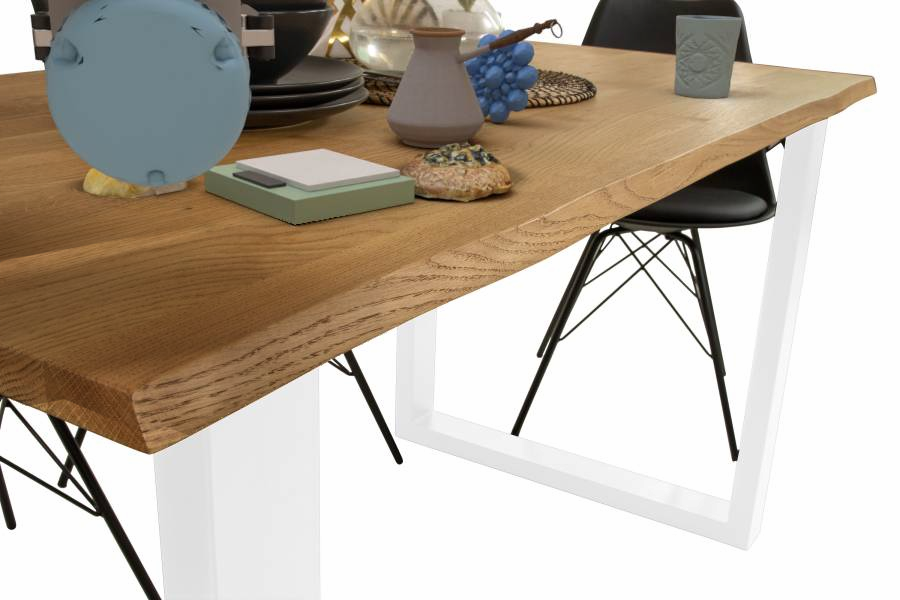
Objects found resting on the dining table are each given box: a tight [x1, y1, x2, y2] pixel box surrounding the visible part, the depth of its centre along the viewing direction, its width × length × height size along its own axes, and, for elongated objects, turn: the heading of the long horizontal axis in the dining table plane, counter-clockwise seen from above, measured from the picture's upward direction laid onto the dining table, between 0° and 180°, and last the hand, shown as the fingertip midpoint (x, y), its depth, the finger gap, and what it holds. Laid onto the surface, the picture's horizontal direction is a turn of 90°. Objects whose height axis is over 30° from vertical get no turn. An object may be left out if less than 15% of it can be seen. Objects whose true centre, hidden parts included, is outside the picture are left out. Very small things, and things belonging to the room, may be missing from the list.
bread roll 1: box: [82, 167, 188, 199], centre depth 90 cm, size 8×9×4 cm
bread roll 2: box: [400, 143, 515, 203], centre depth 96 cm, size 11×11×5 cm
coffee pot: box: [386, 18, 564, 149], centre depth 114 cm, size 21×12×15 cm, turn 57°
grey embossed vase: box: [673, 14, 743, 99], centre depth 159 cm, size 10×10×12 cm
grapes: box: [464, 29, 539, 124], centre depth 131 cm, size 12×7×12 cm, turn 52°
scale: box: [203, 148, 415, 226], centre depth 92 cm, size 13×15×3 cm
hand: (159, 13), depth 72 cm, fingers closed on cork, 4 cm apart
